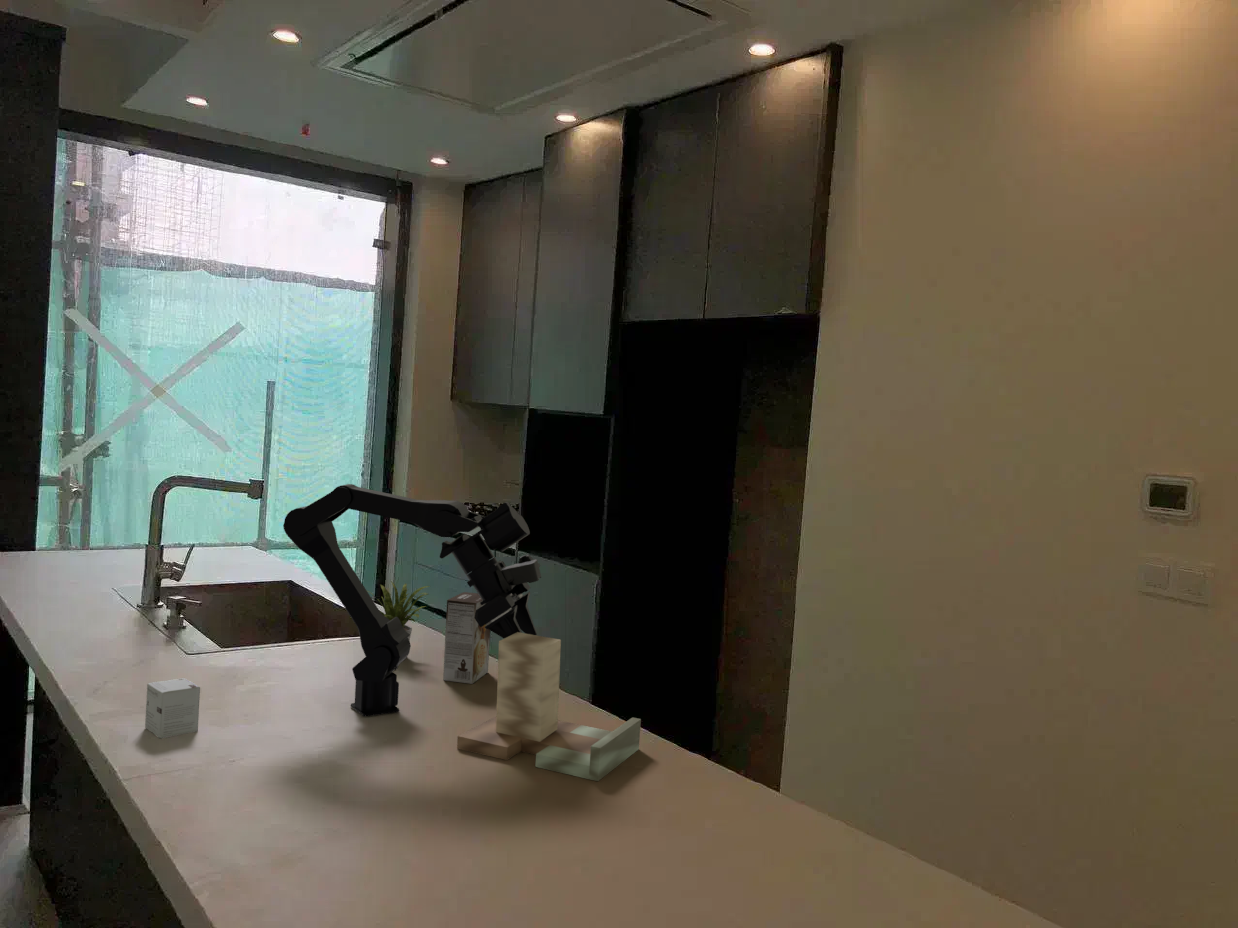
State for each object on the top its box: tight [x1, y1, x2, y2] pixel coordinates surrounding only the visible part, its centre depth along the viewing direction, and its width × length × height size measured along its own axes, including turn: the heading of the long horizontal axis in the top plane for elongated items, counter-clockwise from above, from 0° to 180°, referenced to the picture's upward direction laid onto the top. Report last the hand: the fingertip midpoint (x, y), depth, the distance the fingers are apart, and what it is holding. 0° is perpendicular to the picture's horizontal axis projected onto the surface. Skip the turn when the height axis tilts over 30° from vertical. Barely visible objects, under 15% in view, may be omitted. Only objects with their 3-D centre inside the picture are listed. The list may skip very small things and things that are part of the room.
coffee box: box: [442, 591, 491, 685], centre depth 193 cm, size 9×6×16 cm
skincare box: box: [144, 677, 201, 739], centre depth 154 cm, size 6×6×7 cm
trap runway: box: [456, 716, 642, 782], centre depth 156 cm, size 24×16×5 cm, turn 67°
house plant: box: [366, 579, 430, 641], centre depth 204 cm, size 14×14×16 cm
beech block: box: [495, 632, 562, 742], centre depth 157 cm, size 8×6×15 cm
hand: (530, 642), depth 167 cm, fingers open, 8 cm apart
